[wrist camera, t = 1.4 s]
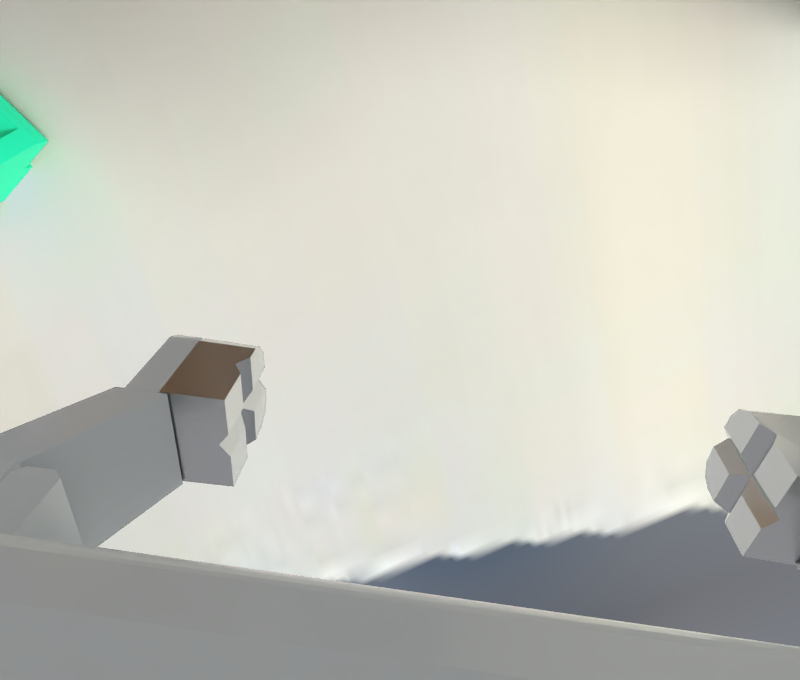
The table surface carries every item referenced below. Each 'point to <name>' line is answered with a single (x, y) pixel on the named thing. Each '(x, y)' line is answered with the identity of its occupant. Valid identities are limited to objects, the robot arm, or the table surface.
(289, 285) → the table surface
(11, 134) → the camera mount
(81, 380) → the table surface
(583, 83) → the table surface
